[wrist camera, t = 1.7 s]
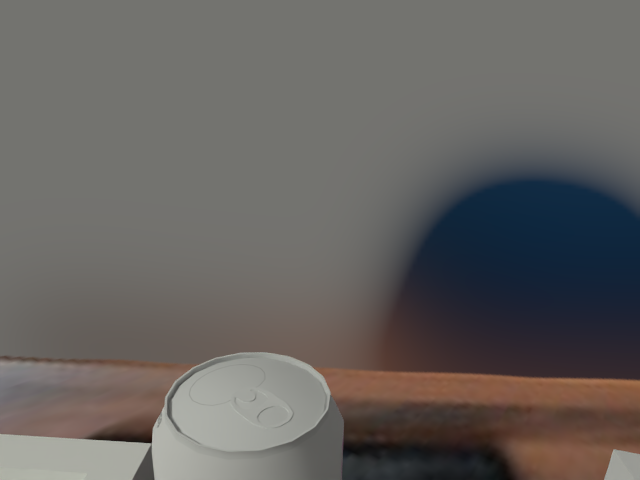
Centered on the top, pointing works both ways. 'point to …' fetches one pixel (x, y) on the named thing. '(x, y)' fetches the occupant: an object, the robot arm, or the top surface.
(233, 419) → the supplement can
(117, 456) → the tray
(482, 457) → the top surface
